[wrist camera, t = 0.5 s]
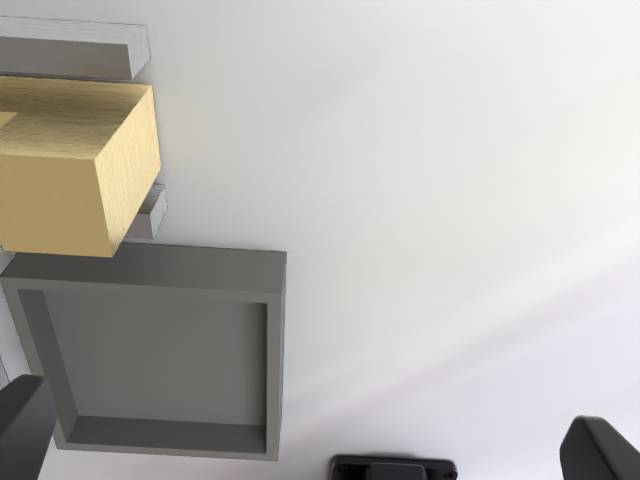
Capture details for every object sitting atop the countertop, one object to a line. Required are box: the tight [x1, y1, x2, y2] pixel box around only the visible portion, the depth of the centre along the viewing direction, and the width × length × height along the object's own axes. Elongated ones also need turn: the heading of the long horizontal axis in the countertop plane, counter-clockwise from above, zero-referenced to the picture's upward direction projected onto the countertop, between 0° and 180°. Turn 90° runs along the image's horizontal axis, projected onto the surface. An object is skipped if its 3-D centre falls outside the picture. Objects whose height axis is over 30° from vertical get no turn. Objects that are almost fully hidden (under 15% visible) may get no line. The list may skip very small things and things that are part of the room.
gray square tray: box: [0, 242, 287, 461], centre depth 24 cm, size 10×10×2 cm
